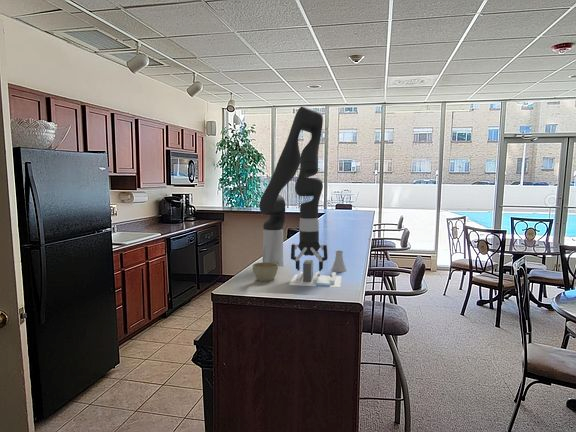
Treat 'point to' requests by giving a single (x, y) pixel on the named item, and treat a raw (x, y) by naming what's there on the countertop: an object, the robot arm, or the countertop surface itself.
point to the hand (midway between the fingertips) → (309, 270)
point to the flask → (339, 262)
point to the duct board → (317, 280)
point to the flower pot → (265, 271)
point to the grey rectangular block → (308, 270)
